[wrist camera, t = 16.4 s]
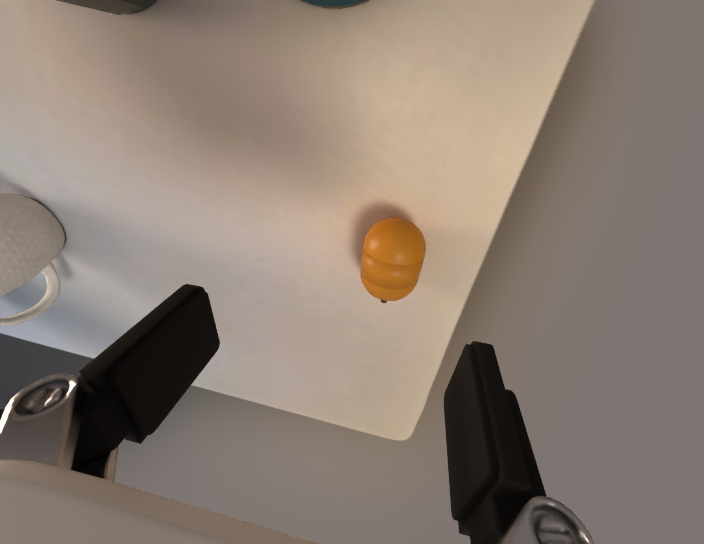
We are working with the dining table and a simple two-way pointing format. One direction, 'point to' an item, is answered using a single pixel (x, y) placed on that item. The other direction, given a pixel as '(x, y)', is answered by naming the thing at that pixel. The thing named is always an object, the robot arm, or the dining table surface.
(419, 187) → the dining table surface
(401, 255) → the orange ribbed oval piece
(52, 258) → the mug
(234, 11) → the dining table surface
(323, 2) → the lid
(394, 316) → the dining table surface
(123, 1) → the pot
